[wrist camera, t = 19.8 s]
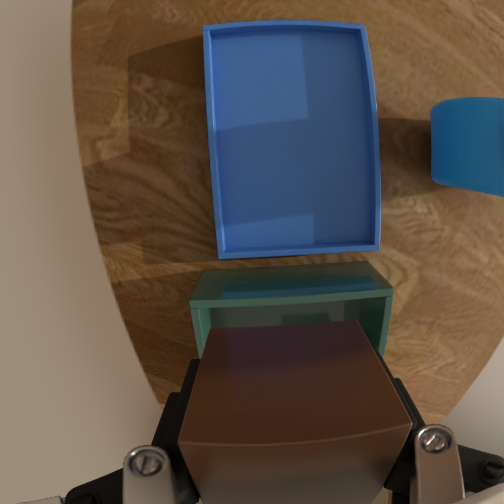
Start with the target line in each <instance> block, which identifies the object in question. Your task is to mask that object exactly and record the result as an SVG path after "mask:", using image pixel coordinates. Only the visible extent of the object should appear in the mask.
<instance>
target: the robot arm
mask: <svg viewBox="0 0 504 504" xmlns="http://www.w3.org/2000/svg"><path fill="white" fill-rule="evenodd" d="M373 349H374V351H375V353H376V355H377V356H378V358H379V360H380V362H381V364H382V366H383V367H384V369H385V371H386V373H387V375H388V377H389V378H390V380H391V382H392V384H393V386H394V388H395V390H396V392H397V394H398V396H399V397H400V399H401V401H402V403H403V405H404V407H405V409H406V411H407V413H408V415H409V417H410V419H411V421H412V427H411V430H410V432H409V434H408V437H407V439H406V441H405V443H404V446H403V448H402V450H401V452H400V454H399V456H398V458H397V460H396V462H395V464H394V466H393V468H392V470H391V472H390V474H389V476H388V478H387V480H386V482H385V484H384V488H386V489H389V491H388V504H504V459H503V458H502V457H500V456H497V455H494V454H490V453H486V452H482V451H479V450H475V449H471V448H468V447H464V446H461V445H458V444H457V441H456V437H455V435H454V433H453V432H452V430H450V429H449V428H448V427H446V426H443V425H441V424H429V425H425V423H424V421H423V419H422V417H421V415H420V413H419V412H418V410H417V408H416V406H415V404H414V403H413V401H412V399H411V397H410V395H409V394H408V392H407V390H406V388H405V387H404V385H403V383H402V381H401V380H400V379H399V378H393V376H392V374H391V372H390V371H389V369H388V367H387V365H386V363H385V362H384V360H383V358H382V356H381V355H380V353H379V351H378V350H377V348H373ZM200 361H201V359H191V361H190V364H189V367H188V370H187V373H186V376H185V379H184V382H183V385H182V388H181V391H180V393H178V392H171V393H170V395H169V397H168V399H167V402H166V405H165V408H164V410H163V413H162V416H161V418H160V421H159V424H158V427H157V430H156V432H155V435H154V438H153V441H152V444H151V445H142V446H138V447H136V448H134V449H132V450H131V451H130V452H128V454H127V455H126V456H125V458H124V462H123V468H121V469H119V470H117V471H115V472H112V473H110V474H108V475H105V476H103V477H100V478H98V479H95V480H93V481H90V482H88V483H85V484H82V485H80V486H77V487H75V488H73V489H72V490H71V491H69V492H68V494H67V495H66V497H64V498H61V497H60V496H55V497H50V498H45V499H40V500H35V501H29V502H23V503H18V504H196V503H197V502H199V498H201V497H200V495H199V493H198V491H197V489H196V487H195V484H194V482H193V480H192V477H191V475H190V473H189V470H188V468H187V466H186V463H185V461H184V458H183V456H182V453H181V451H180V448H179V446H178V443H177V442H178V438H179V435H180V431H181V427H182V424H183V420H184V417H185V413H186V409H187V406H188V402H189V399H190V395H191V392H192V388H193V385H194V381H195V378H196V374H197V371H198V367H199V364H200Z"/></svg>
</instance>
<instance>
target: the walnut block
mask: <svg viewBox="0 0 504 504" xmlns="http://www.w3.org/2000/svg"><path fill="white" fill-rule="evenodd" d="M411 427H412V421H411V419H410V417H409V415H408V413H407V411H406V409H405V407H404V405H403V403H402V401H401V399H400V397H399V396H398V394H397V392H396V390H395V388H394V386H393V384H392V382H391V380H390V378H389V377H388V375H387V373H386V371H385V369H384V367H383V366H382V364H381V362H380V360H379V358H378V356H377V355H376V353H375V351H374V349H373V347H372V346H371V344H370V342H369V340H368V339H367V337H366V335H365V333H364V331H363V330H362V328H361V326H360V325H359V323H358V321H357V320H345V321H335V322H323V323H310V324H296V325H280V326H260V327H233V328H210V330H209V333H208V337H207V340H206V343H205V347H204V350H203V354H202V357H201V361H200V364H199V367H198V371H197V374H196V378H195V381H194V385H193V388H192V392H191V395H190V399H189V402H188V406H187V409H186V413H185V417H184V420H183V424H182V427H181V431H180V435H179V438H178V442H177V443H178V446H179V448H180V451H181V453H182V456H183V458H184V461H185V463H186V466H187V468H188V470H189V473H190V475H191V477H192V480H193V482H194V484H195V487H196V489H197V491H198V493H199V495H200V497H201V500H202V502H203V504H373V503H374V501H375V499H376V498H377V496H378V494H379V493H380V491H381V489H382V487H383V485H384V484H385V482H386V480H387V478H388V476H389V474H390V472H391V470H392V468H393V466H394V464H395V462H396V460H397V458H398V456H399V454H400V452H401V450H402V448H403V446H404V443H405V441H406V439H407V437H408V434H409V432H410V430H411Z"/></svg>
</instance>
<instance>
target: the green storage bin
mask: <svg viewBox="0 0 504 504" xmlns="http://www.w3.org/2000/svg"><path fill="white" fill-rule="evenodd" d="M393 294H394V288H393V287H392V285H391V284H390V283H389V282H388V281H387V280H386V279H385V278H384V277H383V276H382V275H381V274H380V273H379V272H378V271H377V270H376V269H375V268H374V267H373V266H372V265H371V264H370V263H369V262H368V261H361V262H345V263H329V264H313V265H295V266H277V267H259V268H239V269H219V270H204V272H203V274H202V276H201V278H200V280H199V282H198V284H197V286H196V288H195V290H194V292H193V294H192V296H191V298H190V300H189V304H190V311H191V317H192V323H193V328H194V334H195V339H196V345H197V350H198V355H199V359H201V357H202V354H203V350H204V347H205V343H206V340H207V337H208V333H209V330H210V328H233V327H260V326H280V325H296V324H310V323H323V322H335V321H345V320H357V321H358V323H359V325H360V326H361V328H362V330H363V331H364V333H365V335H366V337H367V339H368V340H369V342H370V344H371V346H372V347H373V348H377V350H378V351H379V353H380V355H381V356H382V358H384V353H385V347H386V342H387V336H388V330H389V324H390V317H391V310H392V303H393Z"/></svg>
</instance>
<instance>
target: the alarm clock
mask: <svg viewBox="0 0 504 504" xmlns="http://www.w3.org/2000/svg"><path fill="white" fill-rule="evenodd" d="M430 116H431V178H432V180H433V181H434V182H435V183H438V184H441V185H445V186H450V187H455V188H461V189H466V190H471V191H476V192H482V193H487V194H492V195H497V196H502V197H504V99H501V98H490V97H467V98H457V99H451V100H446V101H443V102H440V103H438V104H437V105H435V106H434V107H433V108H432V109H431V113H430Z"/></svg>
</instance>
